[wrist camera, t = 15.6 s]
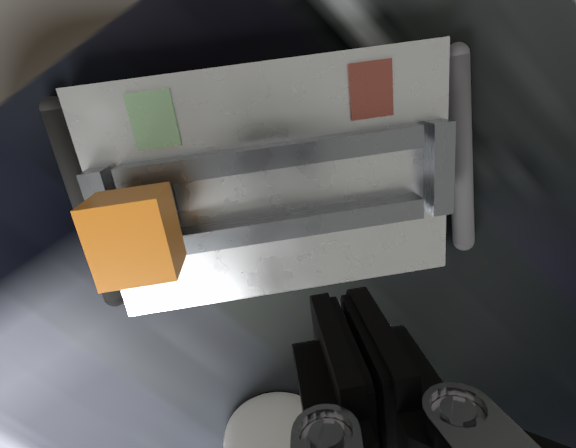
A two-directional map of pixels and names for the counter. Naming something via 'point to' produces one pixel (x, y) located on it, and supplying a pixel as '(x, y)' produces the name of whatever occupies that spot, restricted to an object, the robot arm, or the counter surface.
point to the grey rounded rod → (462, 145)
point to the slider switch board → (281, 166)
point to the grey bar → (67, 162)
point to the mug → (263, 421)
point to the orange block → (131, 236)
